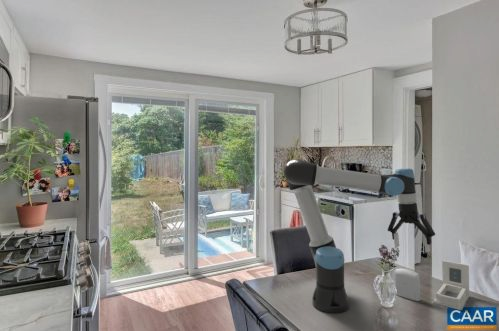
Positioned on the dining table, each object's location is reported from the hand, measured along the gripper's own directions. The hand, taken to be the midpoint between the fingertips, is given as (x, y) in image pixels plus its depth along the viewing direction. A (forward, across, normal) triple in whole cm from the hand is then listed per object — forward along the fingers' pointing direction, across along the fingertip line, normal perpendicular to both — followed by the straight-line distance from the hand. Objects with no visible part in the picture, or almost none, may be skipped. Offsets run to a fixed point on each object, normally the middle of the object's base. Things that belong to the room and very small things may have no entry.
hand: (411, 249), depth 140 cm
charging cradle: (+22, -12, -6) cm, 26 cm away
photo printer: (+21, +1, +6) cm, 21 cm away
